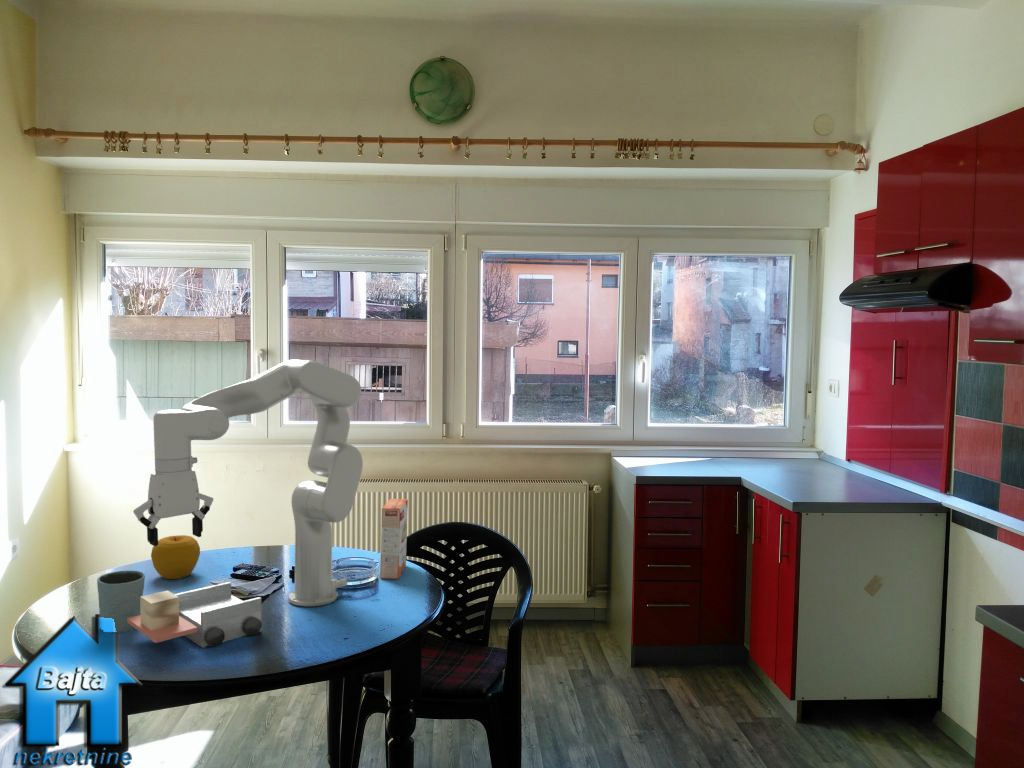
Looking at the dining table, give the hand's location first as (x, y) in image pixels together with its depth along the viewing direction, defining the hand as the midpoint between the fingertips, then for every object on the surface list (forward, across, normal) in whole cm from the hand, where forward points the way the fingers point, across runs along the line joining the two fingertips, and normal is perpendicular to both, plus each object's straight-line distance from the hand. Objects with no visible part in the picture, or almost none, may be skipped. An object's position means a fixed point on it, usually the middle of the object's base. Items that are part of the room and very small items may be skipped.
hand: (175, 540), depth 171 cm
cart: (+23, -9, 0) cm, 25 cm away
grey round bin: (+23, +6, -17) cm, 29 cm away
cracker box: (+25, -66, -7) cm, 72 cm away
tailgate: (+19, -1, 0) cm, 19 cm away
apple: (+24, -18, -46) cm, 55 cm away
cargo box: (+18, +4, 0) cm, 18 cm away
